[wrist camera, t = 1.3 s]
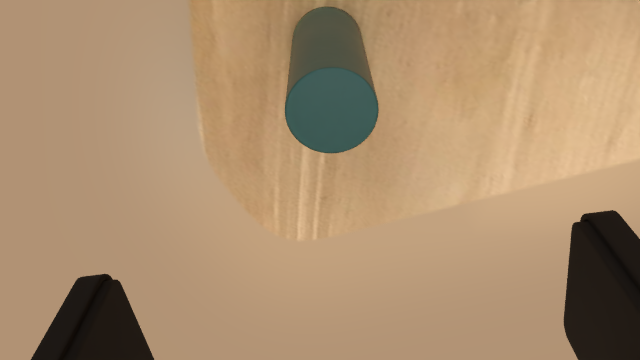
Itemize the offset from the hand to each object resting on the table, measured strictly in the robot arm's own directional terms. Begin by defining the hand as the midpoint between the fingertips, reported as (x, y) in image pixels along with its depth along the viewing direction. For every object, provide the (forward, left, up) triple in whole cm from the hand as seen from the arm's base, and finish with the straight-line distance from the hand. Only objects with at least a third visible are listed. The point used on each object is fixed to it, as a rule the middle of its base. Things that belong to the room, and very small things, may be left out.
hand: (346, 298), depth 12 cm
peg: (0, 0, -17) cm, 17 cm away
